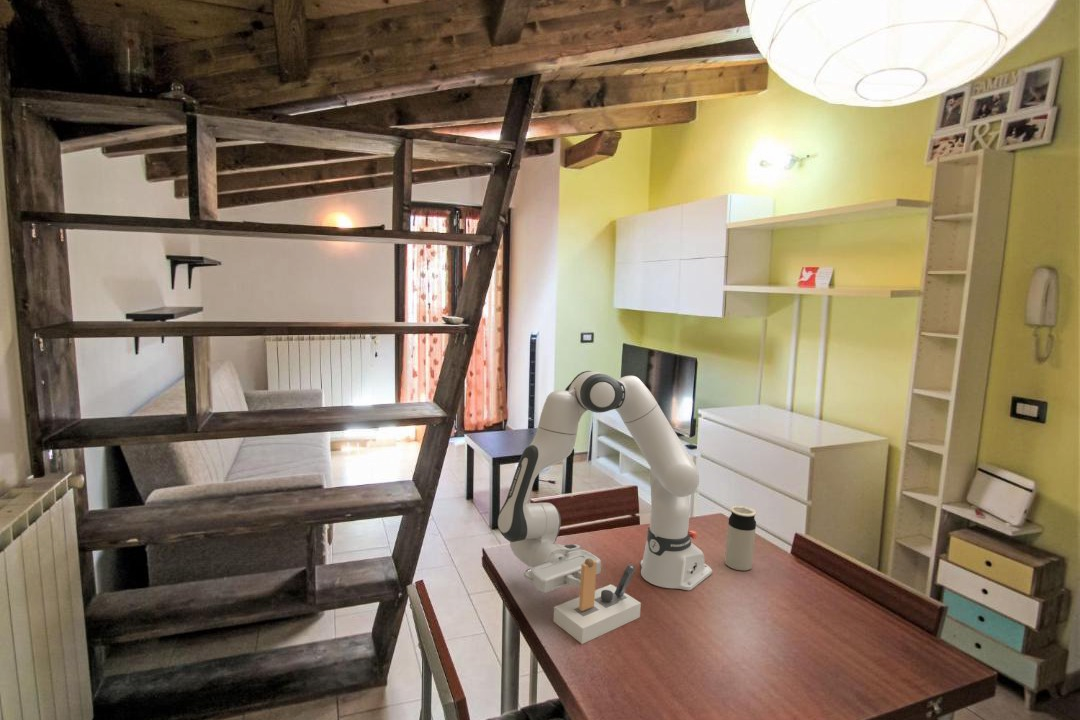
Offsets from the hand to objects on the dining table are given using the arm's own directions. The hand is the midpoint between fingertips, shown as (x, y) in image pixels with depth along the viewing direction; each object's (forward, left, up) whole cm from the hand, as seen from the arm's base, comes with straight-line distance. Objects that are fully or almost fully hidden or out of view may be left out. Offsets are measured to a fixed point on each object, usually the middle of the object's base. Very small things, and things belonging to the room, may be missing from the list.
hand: (585, 584), depth 146 cm
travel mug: (-61, +4, -11) cm, 62 cm away
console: (-4, +1, -11) cm, 11 cm away
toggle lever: (-11, +1, -7) cm, 13 cm away
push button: (-7, +1, -7) cm, 10 cm away
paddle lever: (0, +1, -7) cm, 7 cm away
